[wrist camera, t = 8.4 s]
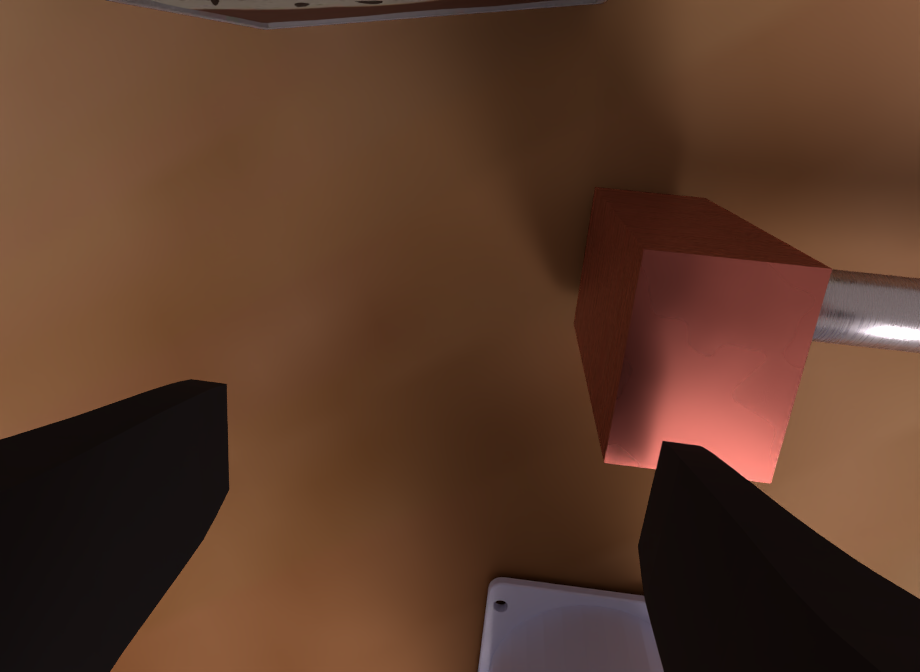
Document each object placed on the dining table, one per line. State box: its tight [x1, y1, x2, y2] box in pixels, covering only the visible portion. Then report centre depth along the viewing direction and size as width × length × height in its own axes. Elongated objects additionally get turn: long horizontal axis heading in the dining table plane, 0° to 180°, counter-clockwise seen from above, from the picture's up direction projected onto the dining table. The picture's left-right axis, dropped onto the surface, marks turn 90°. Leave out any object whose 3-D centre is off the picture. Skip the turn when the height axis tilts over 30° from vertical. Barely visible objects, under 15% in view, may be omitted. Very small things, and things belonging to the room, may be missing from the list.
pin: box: [574, 187, 920, 483], centre depth 15 cm, size 14×4×8 cm, turn 85°
